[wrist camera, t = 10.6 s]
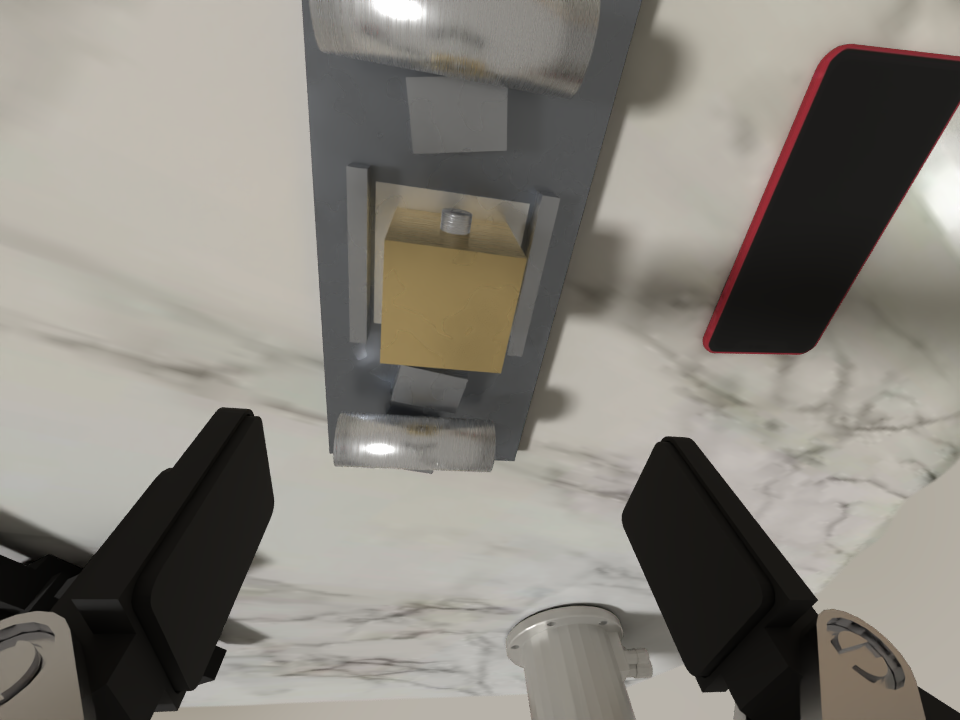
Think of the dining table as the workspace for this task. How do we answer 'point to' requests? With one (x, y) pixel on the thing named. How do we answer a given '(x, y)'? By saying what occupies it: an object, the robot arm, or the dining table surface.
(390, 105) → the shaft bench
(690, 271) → the dining table surface
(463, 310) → the block
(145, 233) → the dining table surface
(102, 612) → the robot arm
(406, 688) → the dining table surface
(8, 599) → the toy
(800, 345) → the smartphone
